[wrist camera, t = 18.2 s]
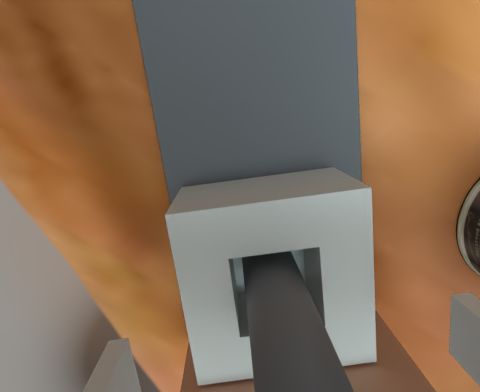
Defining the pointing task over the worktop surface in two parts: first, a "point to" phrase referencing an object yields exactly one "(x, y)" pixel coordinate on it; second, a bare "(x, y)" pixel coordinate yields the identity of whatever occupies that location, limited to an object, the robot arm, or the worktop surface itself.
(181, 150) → the rubber mat
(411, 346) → the worktop surface
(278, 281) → the dowel
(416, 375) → the wall
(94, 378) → the robot arm
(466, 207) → the coffee can
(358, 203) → the hole block
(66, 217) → the worktop surface
